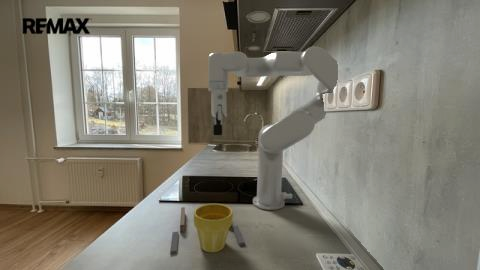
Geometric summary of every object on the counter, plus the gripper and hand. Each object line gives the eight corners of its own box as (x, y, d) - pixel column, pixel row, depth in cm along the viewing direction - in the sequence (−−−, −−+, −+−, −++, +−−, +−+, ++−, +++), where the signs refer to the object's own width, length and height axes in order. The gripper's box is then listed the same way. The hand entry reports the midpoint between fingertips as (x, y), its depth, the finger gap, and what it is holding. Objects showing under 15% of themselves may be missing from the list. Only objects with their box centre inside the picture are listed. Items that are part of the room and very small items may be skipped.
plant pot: (228, 232, 66) (228, 201, 65) (235, 254, 56) (236, 218, 55) (193, 236, 64) (193, 204, 63) (194, 260, 54) (194, 222, 53)
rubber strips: (237, 227, 69) (237, 225, 69) (244, 245, 60) (244, 242, 60) (172, 234, 64) (172, 232, 64) (170, 254, 56) (170, 251, 56)
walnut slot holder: (224, 210, 80) (224, 204, 80) (230, 227, 69) (230, 220, 69) (181, 214, 77) (181, 207, 77) (180, 232, 65) (180, 225, 65)
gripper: (231, 85, 77) (230, 137, 79) (224, 89, 92) (224, 132, 94) (210, 84, 76) (209, 137, 78) (206, 88, 90) (206, 132, 92)
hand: (217, 134), depth 86 cm, fingers closed
